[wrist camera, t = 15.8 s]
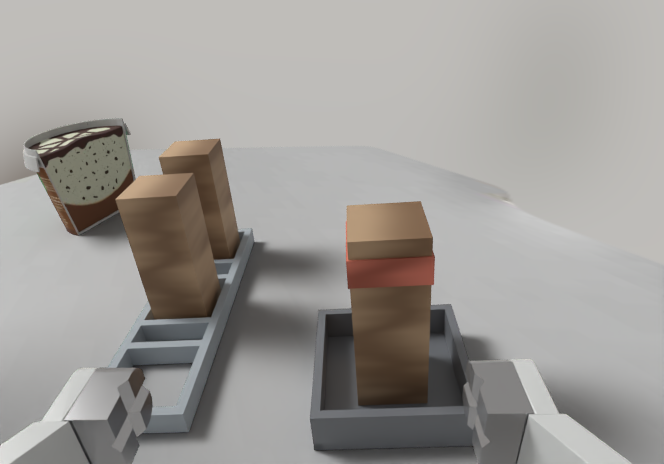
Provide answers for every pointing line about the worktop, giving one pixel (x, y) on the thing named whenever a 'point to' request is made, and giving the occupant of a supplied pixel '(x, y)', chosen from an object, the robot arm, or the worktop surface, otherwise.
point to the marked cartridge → (390, 300)
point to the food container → (82, 169)
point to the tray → (395, 419)
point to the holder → (185, 343)
